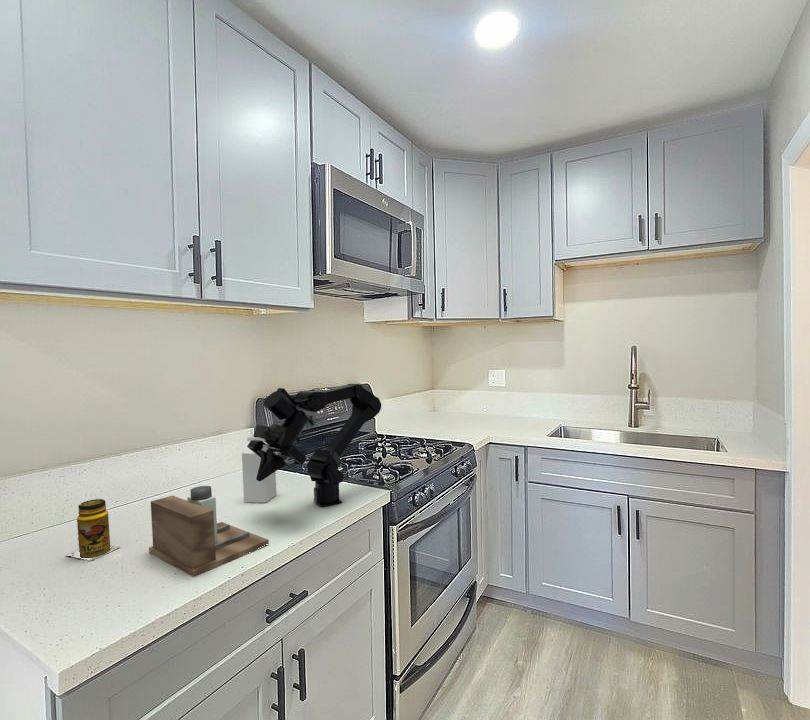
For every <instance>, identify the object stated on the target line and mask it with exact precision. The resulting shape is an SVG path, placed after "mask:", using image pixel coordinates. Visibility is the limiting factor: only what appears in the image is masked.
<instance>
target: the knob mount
mask: <svg viewBox="0 0 810 720" xmlns="http://www.w3.org/2000/svg"><path fill="white" fill-rule="evenodd" d="M150 518H151V532H152V534H151V535H152V546H149V547H148V553H149V554H151V555H153V556H155V557H156V558H158V559H160V560H162V561H164V562H165V563H167V564H169V565H171V566H174V568H177V569H178V568H179V570H181V571H182V572H184V573H186V574H187V573H188V574H187V575H189V574H190V576H191V575H192V577H193V576H195V577H197V576H199V574H200V575H201V573H202V574H204V573H206V571H207V572H209V571H211V570H213V568H214V569H215V568H218V567H221V566H222V564H223V565H225V564H227V562H228V563H230V562H232V561H235V560H237V559H239V558H241V557H243V555H244V556H246V555H248V554H250V553H249V552H251V551H253V550H255V551H257V550H256V549H258V548H260V547H262V546H264V545H266V544H269V545H270V540H269V539H268V538H265V537H262V536H260V535H257V534H255V533H252V532H250V531H247V530H244V529H241V528H239V527H236V526H233V525H231V524H228V523H226V522H224V521H220V522H217V538H218V543H217V544H215V531H214V511H213V510H212V509H209V508H206V507H203V506H201V505H198V504H195V503H192V502H189V501H187V500H186V499H183V498H180V497H178V496H175V495H173V494H172V495H169V496H166V497H162V498H158V499H155V500H151V501H150ZM262 548H263V547H262ZM260 549H261V548H260ZM258 550H259V549H258ZM253 552H254V551H253ZM247 553H248V554H247ZM251 553H252V552H251ZM245 554H246V555H245ZM236 558H237V559H236ZM234 559H235V560H234ZM220 565H221V566H220ZM196 575H197V576H196Z"/></svg>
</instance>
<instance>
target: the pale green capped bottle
mask: <svg viewBox="0 0 810 720" xmlns="http://www.w3.org/2000/svg"><path fill="white" fill-rule="evenodd" d="M186 499H187V501H189V502H192V503H195V504H198V505H201V506H203V507H206V508H209V509H212V510H213V511H214V531H215V544H217V543H218V538H217V523H218V522H217V503H216V502H217V501H216V500H217V499H216V497H215V496H213V495H212V486H210V485H199V486H195V487H193V488H191V489H190V495H189V496H186Z"/></svg>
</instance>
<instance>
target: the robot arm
mask: <svg viewBox="0 0 810 720" xmlns="http://www.w3.org/2000/svg"><path fill="white" fill-rule="evenodd" d="M348 399H349V402H350V404H351V405H352V407H351V415H350V416H349V417H348V419H347V420H346V422H345V423H343V425H342V427H341V428H340V429H339V430H338V432H337V433H336V435H335V436H334V437H333V438H332V440H331V441H330V442H329V444H328V445H327V447H325V448H324V449H322V448H316V449H315V450H314V452H313V454H312V455H311V456H310V457H308V462H307V464H306V467H307V468H306V471H307V474H308V476H309V477H310V480H311V482H315V483H314V484H315V487H313V501H314V503H316V504H317V505H318V506H319V507H321V508H322V507H323V508H324V507H327V506H328V507H329V506H333V505H338V504H342V502H343V501H342V500H341V499H340V483H342V482H343V481H344V477H345V476H344V475H345V474H344V473H343V472H342V471H340V469H339V468H340V461H341V460H340V459H341V456H342V455H343V454H344V453H345V451H346V449H347V448H348V447H349V445H350V444H351V442H352V441H353V440H354V438H355V437H356V435H358V433H359V431H360V430H361V429H362V427H363V426H364V425H365V424H366V423H367V422H369V421H371V420H373V419H375V417H376V416H378V414H379V413H380V412H381V409H382V402H381V400H380V398H379V397H377V396H376V395H375V394H373V393H372V392H371V391H369V390H367V389H365V388H364V386H363V385H361V383H360V384H359V383H348V384H345V385H342V386H338V387H333V388H328V389H325V390H301V391H298V392H297V393H296V395H294V396H291V395H290V394H289V393H288V391H287V390H286V389H285V388H284V387H283V388H282V387H278V388H277V390H276V391H273V392H272V393H270V394H269V395H268V396H266V398H265V399H264V402H263V406H264V408H266V409H267V410H268V412H270V413H271V414H272V415H273V416H274V417H275V418H276V419H277V420H279V421H282V420H283V421H282V422H281V424H280V425H279V424H276V423H272V424H271V425H270V426H268V425H262V424H256V425H255V429H254V432H253V436H252V437H257V438H262V439H265V441H264V442H265V443H267V444H269V446H268V445H267V444H265V443H264V442H263V441H261V440H251V441H250V443H249V444H248V446H247V447H248V448H249V449H250V450H252V451H253V452H254V453H255V454H257V455H258V456H259V457H261V461H260V466H259V470H258V473H257V477H256V480H257V481H262V480H263V479H265V478H266V477H268V476H269V475H271V474H272V473H274V472H275V471H276V472H277V471H279V470H280V469H282V468H283V467H287V466H288V463H287V462H288V460H290V459H293V463H294V465H295V466H300V467H303V465H305V462H306V459H307V457H306V454H305V453H304V452H303V451H302V450H301V449H299V448H298V447H297V446H296V445H295V443H300V441H301V439H300V435H301V434H302V432H303V430H304V429H305V427H306V426H314V424H315V423H314V421H313V416H312V415H309V414H307V413H306V412H309V413H317V412H319V411H321V410H323V409H325V408H326V407H327V406H328V405H330V404H333V403H338V402H340V401H344V400H348Z"/></svg>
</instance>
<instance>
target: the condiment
mask: <svg viewBox="0 0 810 720" xmlns="http://www.w3.org/2000/svg"><path fill="white" fill-rule="evenodd" d="M106 503H107V502H106V500H105V499H103V498H96V499H90V500H89V499H88V500H86V501H83V502H80V504H78V516H77V519H76V524H77V526H76V527H77V535H78V536H77V540H78V550H79V552H80V557H81V558H92V559H90V560H87V559H85V560H84V561H87V562H90V561H93V560H96V559H99V558H101V557H103V556H105V555H107V554H109V553H111V552H113V551H115V550H117V549H119V548H120V546H116V545H111V537H110V535H111V534H110V519H109V511H108V510H107V509H106V508H107V506H106V505H107V504H106ZM111 546H112V547H111ZM110 547H111V548H110ZM72 556H74V555H72ZM72 556H71V557H70V558H74V559H77V558H76V557H72Z"/></svg>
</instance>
